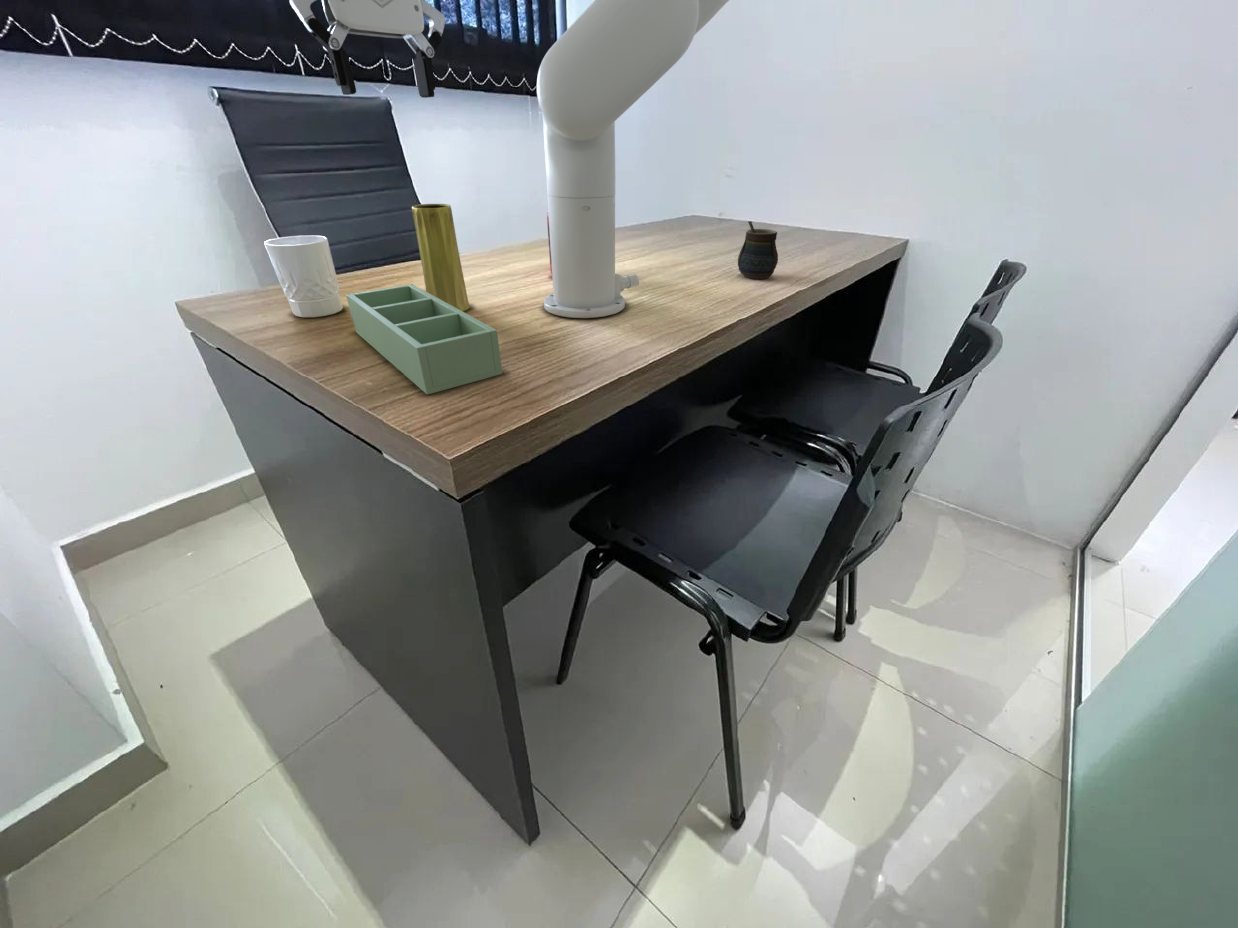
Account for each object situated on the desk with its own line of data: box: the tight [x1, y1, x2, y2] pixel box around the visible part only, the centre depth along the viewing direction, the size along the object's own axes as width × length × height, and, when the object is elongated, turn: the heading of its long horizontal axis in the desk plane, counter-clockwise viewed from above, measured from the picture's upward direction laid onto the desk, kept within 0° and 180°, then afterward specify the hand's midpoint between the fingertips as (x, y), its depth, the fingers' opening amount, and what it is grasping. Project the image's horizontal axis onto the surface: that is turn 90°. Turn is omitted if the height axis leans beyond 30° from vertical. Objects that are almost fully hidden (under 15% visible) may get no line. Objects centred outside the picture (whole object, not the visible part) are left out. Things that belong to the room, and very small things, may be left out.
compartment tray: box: [345, 283, 503, 396], centre depth 62 cm, size 9×25×5 cm, turn 39°
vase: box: [411, 203, 471, 313], centre depth 75 cm, size 6×6×14 cm
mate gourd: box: [737, 220, 779, 280], centre depth 94 cm, size 7×8×10 cm
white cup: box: [263, 235, 344, 319], centre depth 75 cm, size 8×8×10 cm
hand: (390, 95), depth 64 cm, fingers open, 9 cm apart
